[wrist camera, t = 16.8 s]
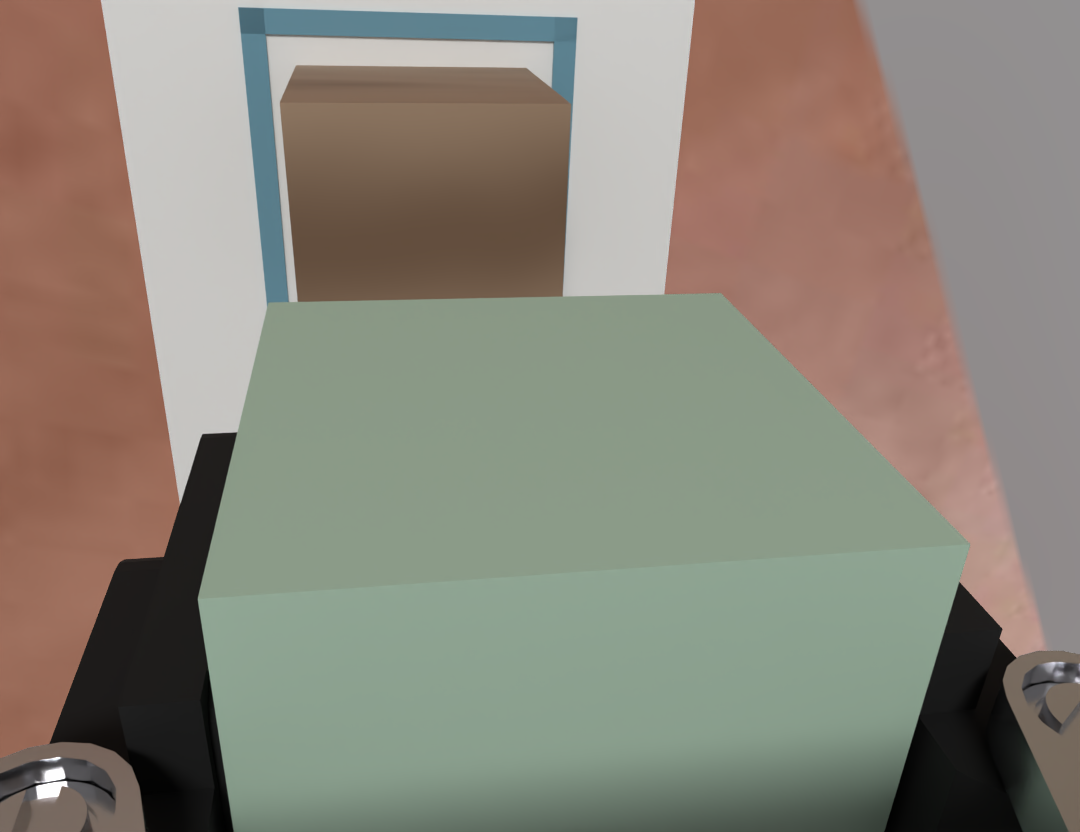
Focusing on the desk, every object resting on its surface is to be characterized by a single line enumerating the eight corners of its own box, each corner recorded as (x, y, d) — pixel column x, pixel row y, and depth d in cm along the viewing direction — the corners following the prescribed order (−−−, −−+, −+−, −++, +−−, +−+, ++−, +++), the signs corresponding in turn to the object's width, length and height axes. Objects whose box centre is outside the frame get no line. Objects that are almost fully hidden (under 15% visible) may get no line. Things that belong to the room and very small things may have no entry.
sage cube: (674, 636, 13) (835, 995, 9) (303, 668, 12) (273, 1083, 8) (721, 293, 11) (971, 543, 6) (268, 302, 10) (197, 599, 6)
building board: (617, 662, 37) (624, 682, 36) (217, 698, 34) (213, 720, 33) (684, -10, 26) (696, -8, 25) (106, -31, 23) (95, -29, 22)
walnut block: (521, 281, 28) (559, 362, 23) (313, 287, 27) (304, 373, 22) (526, 67, 25) (571, 103, 20) (296, 65, 24) (279, 102, 19)
